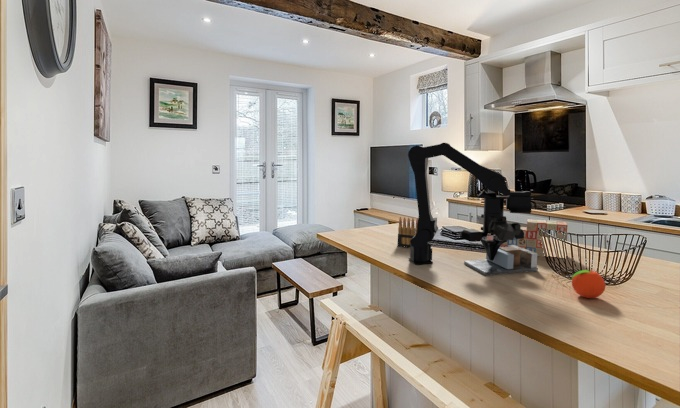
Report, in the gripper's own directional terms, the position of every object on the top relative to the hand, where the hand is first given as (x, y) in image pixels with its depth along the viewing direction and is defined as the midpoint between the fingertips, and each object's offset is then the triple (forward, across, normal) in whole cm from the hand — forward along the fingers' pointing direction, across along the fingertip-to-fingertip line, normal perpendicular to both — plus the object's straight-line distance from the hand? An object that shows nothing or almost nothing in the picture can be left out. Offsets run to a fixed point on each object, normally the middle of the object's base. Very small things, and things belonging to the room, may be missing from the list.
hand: (491, 260), depth 112 cm
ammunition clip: (+3, -15, +31) cm, 35 cm away
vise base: (+3, +3, 0) cm, 4 cm away
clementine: (+3, +9, -26) cm, 28 cm away
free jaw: (+1, +3, 0) cm, 3 cm away
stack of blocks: (+3, +24, +12) cm, 27 cm away
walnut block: (+2, +6, 0) cm, 7 cm away
